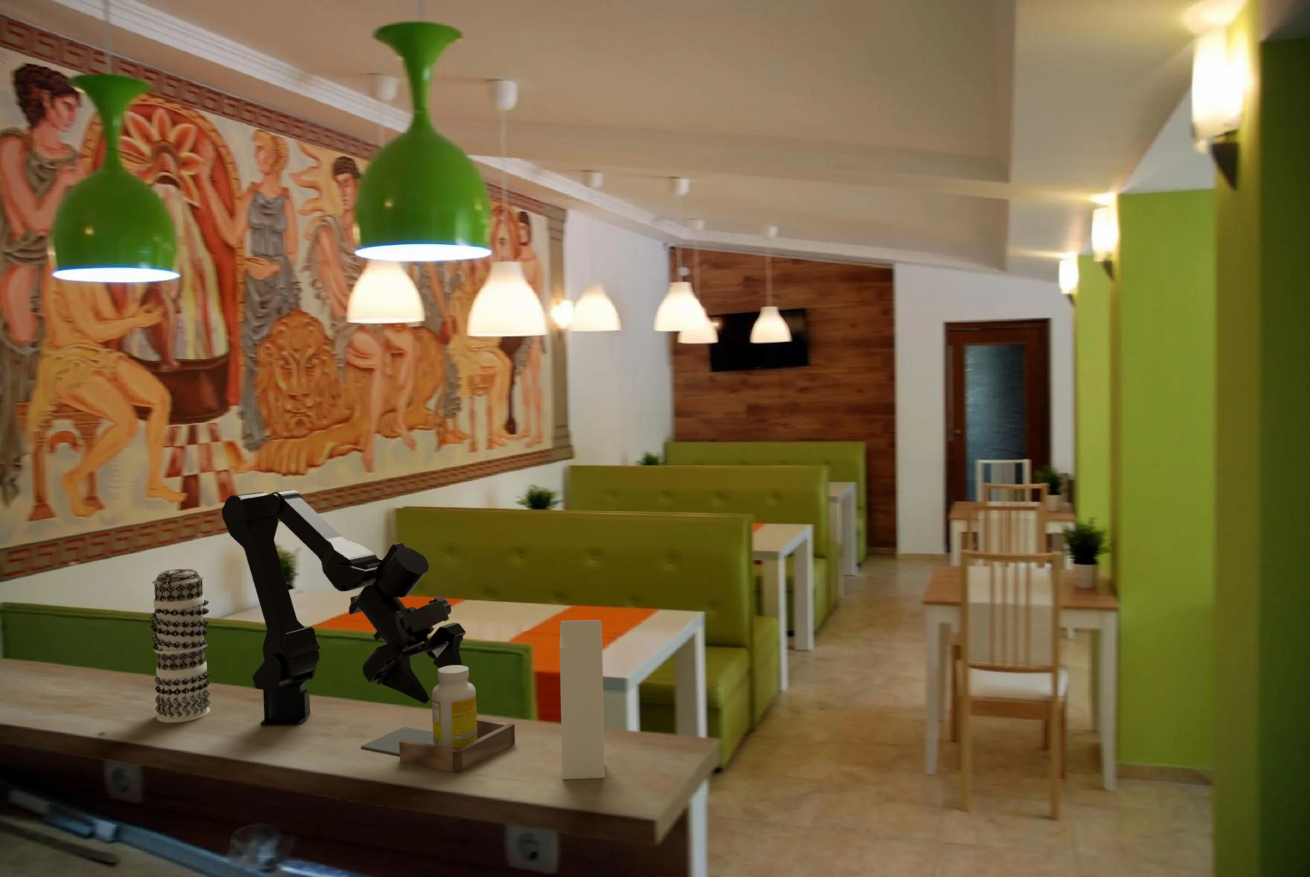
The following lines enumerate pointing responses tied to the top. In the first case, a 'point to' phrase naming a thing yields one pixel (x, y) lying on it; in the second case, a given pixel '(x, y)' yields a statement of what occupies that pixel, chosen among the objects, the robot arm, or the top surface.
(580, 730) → the beige tall block
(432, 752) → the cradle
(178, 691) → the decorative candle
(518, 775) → the top surface
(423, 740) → the mat
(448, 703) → the supplement bottle
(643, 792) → the top surface
